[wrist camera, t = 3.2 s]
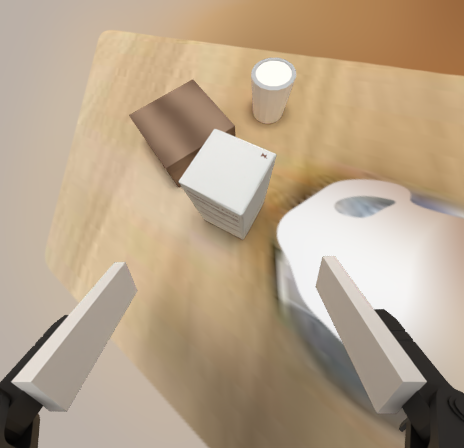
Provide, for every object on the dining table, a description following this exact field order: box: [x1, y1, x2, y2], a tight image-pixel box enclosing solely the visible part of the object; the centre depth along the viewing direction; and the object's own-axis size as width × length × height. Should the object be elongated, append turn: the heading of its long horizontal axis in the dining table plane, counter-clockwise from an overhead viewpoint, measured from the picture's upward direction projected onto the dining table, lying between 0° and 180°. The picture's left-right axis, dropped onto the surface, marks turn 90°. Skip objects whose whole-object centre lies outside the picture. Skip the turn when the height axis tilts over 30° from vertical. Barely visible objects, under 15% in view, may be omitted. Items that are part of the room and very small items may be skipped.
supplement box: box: [178, 129, 276, 240], centre depth 24 cm, size 7×7×13 cm
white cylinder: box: [251, 58, 296, 124], centre depth 32 cm, size 7×7×7 cm
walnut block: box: [129, 80, 235, 187], centre depth 31 cm, size 12×12×6 cm
